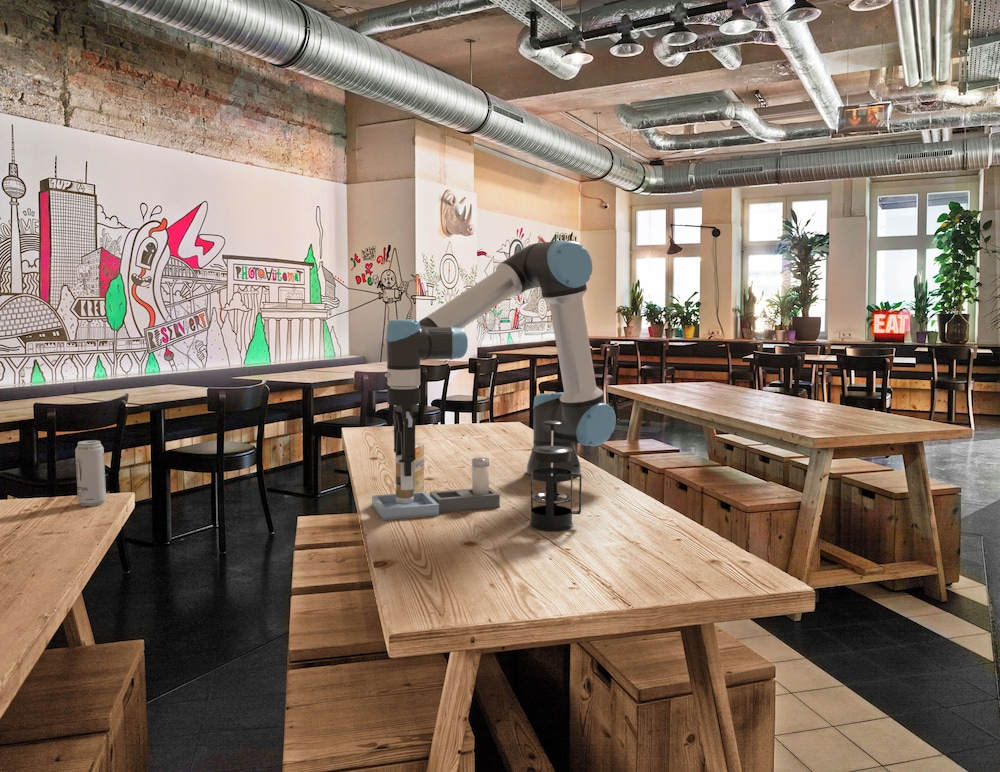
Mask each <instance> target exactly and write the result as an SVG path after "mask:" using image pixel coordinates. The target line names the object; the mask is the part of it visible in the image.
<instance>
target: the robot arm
mask: <svg viewBox="0 0 1000 772" xmlns="http://www.w3.org/2000/svg"><path fill="white" fill-rule="evenodd" d="M592 274H593V260H592V258H591V255H590V252H589V251H588V250H587V249H586V247H584V246H583V245H582V244H581V243H580V242H577V241H574V240H565V239H562V240H555V241H554V240H553V241H547V242H535V243H532V244H529V245H528V246H525V247H523V248H522V249H520V250H519V251H517V252H515V253H514V254H512V255H511V256H509V257H508V258H506V259H505V260H503V261H502V262H501V263H499V264H497V265H496V269H495V271H494V272H492V273H490V274H489V275H488V276H486V277H485V278H483V279H481V280H480V281H478V282H476V283H475V284H473V285H472V286H471V287H469V288H468V289H466V290H465V291H462V292H461V293H460V294H459V295H458V296H456V297H454V298H452V299H451V300H449V301H448V302H446V303H445V304H443V305H442V306H440V307H439V308H437V309H436V310H434V311H433V312H432V313H430V314H428V315H427V316H425V317H424V318H421V319H420V320H418V319H390V320H389V321H388V322H387V324H386V336H385V337H386V338H385V341H386V364H387V366H386V369H387V371H386V372H385V373H384V377H385V378H387V382H386V384H387V386H389V388H387V390H386V391H387V392H386V395H387V396H386V397H387V401H386V402H387V404H388V405H390V406H396V407H395V408H396V409H395V410H393V411H392V418H393V453H395V456H396V455H399V454H402V460H399V463H401V490H412V489H413V461H414V460H415V443H416V424H417V418H415V413H414V412H413V408H412V406H417V405H419V404H420V403H421V389H420V388H419V387H420V385H421V361H432V360H433V361H434V360H436V361H440V360H450V361H452V360H455V359H456V360H458V359H461V358H463V357H464V356H465V355H466V353H467V351H468V348H469V345H468V343H469V342H468V341H469V340H468V336H467V334H466V332H465V330H464V328H466V327H467V326H468V325H470V324H471V323H472V322H474V321H476V320H477V319H479V318H480V317H481V316H483V315H484V314H486V313H487V312H488V311H491V309H493V308H495V307H496V306H498V305H499V304H501V303H502V302H504V301H505V300H507V299H508V298H509V297H511V296H514V297H517V296H519V295H522V294H523V293H524V292H526V291H529V290H531V289H537V288H540V293H541V298H542V299H543V300H544V301H546V302H547V303H548V304H549V309H550V315H551V322H552V329H553V333H554V339H555V345H556V351H557V356H558V357H557V358H558V363H559V368H560V369H559V370H560V375H561V381H562V387H563V392H561V391H560V392H550V393H549V392H547V393H537V394H536V395H535V396H534V398H533V399H534V400H533V407H532V410H533V414H532V415H533V417H532V418H533V428H532V429H533V430H532V431H533V435H532V436H533V446H532V448H534V447H538V446H551V437H552V431H551V430H550V425H546V424H543V422H545V421H559V422H562V424H560V425H555V430H554V431H553V446H563V447H569V448H571V449H573V452H572V453H571V460H570V461H567V462H562V463H553V467H558V468H565V469H569V470H571V471H572V472H573V473H581V463H580V459H579V457H578V454H577V449H576V446H575V443H576V444H580V445H582V446H589V447H598V446H601V445H602V444H605V443H606V442H607V441H608V440H609V439H610V438H611V436H612V434H613V433H614V432H615V428H616V423H617V417H616V411H615V410H614V409H613V407H612V406H610V404H608V403H606V402H605V397H604V391H603V390H602V389H601V388H599V387H598V386H597V383H596V376H595V370H594V364H593V363H594V362H593V358H592V353H591V352H592V351H591V346H590V345H591V344H590V339H589V332H588V327H587V320H586V319H587V318H586V313H585V307H584V306H585V305H584V300H583V297H584V296H585V294H586V293H587V291H588V288H587V283H588V282H589V281H590V279H591V277H590V276H591V275H592ZM543 467H551V463H546V462H540V461H538V460H537V459H536V457H535V455H534V452H532V451H531V453H530V455H529V458H528V461H527V464H526V473H527V475H528V476H531V471H532V470H533V469H536V468H543ZM538 475H545V476H550V473H542V474H538ZM562 475H565V474H558V473H557V476H562ZM576 477H577V476H573V478H576Z"/></svg>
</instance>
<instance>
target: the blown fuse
mask: <svg viewBox="0 0 1000 772" xmlns="http://www.w3.org/2000/svg"><path fill="white" fill-rule="evenodd" d="M399 460H402V454H399V455H396V454H395V460H394V461H395V494H396V503H397V504H401V505H407V504H412V503H414V496H413V489H412V490H401V463H399Z"/></svg>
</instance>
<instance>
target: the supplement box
mask: <svg viewBox="0 0 1000 772" xmlns="http://www.w3.org/2000/svg"><path fill="white" fill-rule="evenodd" d="M414 492H425V443H424V442H415V460H414V461H413V493H414Z"/></svg>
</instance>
